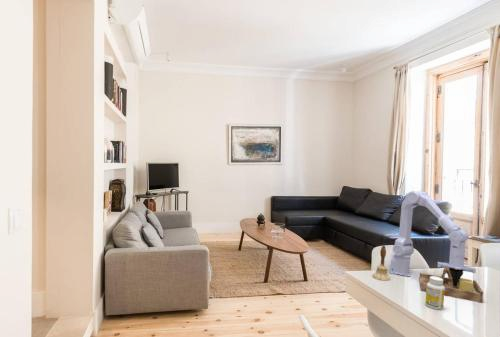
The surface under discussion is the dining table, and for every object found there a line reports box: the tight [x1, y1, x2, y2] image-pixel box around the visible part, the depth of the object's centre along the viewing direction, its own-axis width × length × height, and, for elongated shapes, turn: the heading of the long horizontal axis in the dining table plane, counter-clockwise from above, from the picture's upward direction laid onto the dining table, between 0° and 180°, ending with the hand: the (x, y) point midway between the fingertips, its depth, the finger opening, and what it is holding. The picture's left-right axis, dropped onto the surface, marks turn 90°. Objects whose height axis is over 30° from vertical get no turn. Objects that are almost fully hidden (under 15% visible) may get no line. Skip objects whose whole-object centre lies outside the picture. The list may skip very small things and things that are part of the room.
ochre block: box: [458, 277, 473, 292], centre depth 148 cm, size 5×5×4 cm
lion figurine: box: [440, 268, 452, 279], centre depth 166 cm, size 15×5×9 cm, turn 132°
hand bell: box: [371, 245, 391, 282], centre depth 162 cm, size 8×8×16 cm
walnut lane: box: [418, 272, 484, 304], centre depth 150 cm, size 23×16×4 cm
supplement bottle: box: [425, 275, 445, 310], centre depth 132 cm, size 6×6×11 cm
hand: (454, 285), depth 149 cm, fingers closed
